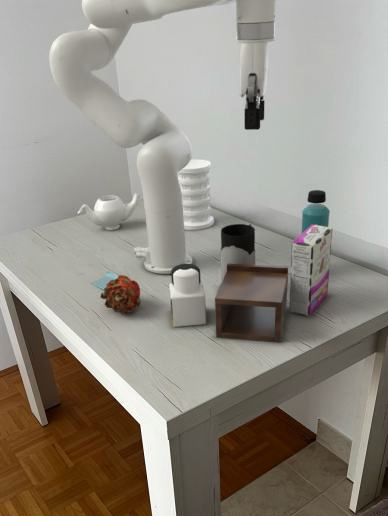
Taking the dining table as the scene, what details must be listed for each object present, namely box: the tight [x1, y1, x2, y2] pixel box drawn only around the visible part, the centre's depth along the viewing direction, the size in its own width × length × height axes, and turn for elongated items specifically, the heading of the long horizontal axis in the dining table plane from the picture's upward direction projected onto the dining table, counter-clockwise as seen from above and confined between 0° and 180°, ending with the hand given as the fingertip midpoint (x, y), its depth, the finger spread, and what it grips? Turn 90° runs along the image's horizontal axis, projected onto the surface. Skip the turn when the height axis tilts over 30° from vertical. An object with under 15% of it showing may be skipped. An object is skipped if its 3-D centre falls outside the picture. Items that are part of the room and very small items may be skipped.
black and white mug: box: [220, 222, 256, 284], centre depth 127 cm, size 9×14×15 cm, turn 158°
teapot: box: [76, 192, 141, 231], centre depth 167 cm, size 10×20×9 cm, turn 112°
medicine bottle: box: [168, 263, 207, 328], centre depth 116 cm, size 7×7×12 cm
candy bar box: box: [289, 225, 333, 317], centre depth 117 cm, size 11×5×16 cm, turn 148°
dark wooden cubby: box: [214, 264, 289, 343], centre depth 113 cm, size 13×14×10 cm
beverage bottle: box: [300, 189, 331, 235], centre depth 130 cm, size 6×7×20 cm
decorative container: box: [178, 158, 215, 231], centre depth 164 cm, size 12×12×18 cm
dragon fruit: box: [100, 274, 141, 314], centre depth 122 cm, size 8×8×12 cm
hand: (254, 124), depth 118 cm, fingers open, 9 cm apart
